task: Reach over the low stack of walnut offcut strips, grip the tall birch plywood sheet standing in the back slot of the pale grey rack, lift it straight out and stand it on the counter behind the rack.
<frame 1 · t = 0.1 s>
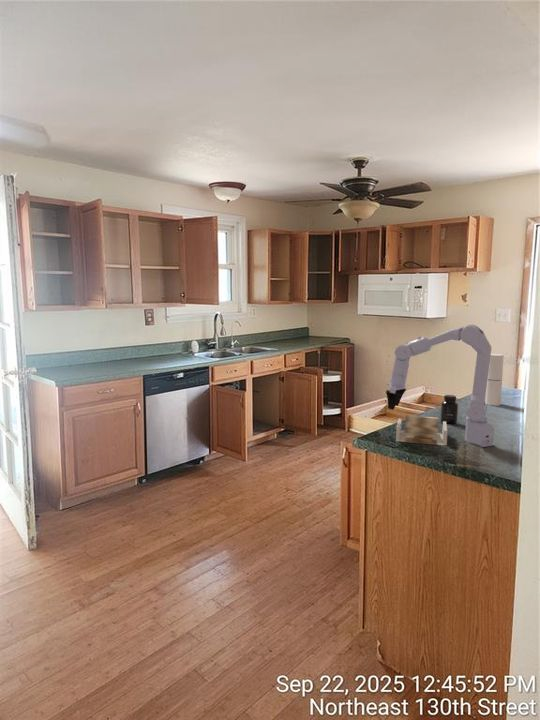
hand: (393, 406, 192), 10 cm above the counter, tool pointing down, fingers open, 7 cm apart
tall sheet: (421, 435, 186), point 1 cm above the counter, touching rack
cylindrical container: (492, 404, 240), on the counter
supplement bottle: (448, 423, 206), on the counter
rack: (421, 439, 184), on the counter
offcut stack: (421, 441, 179), point 1 cm above the counter, touching rack
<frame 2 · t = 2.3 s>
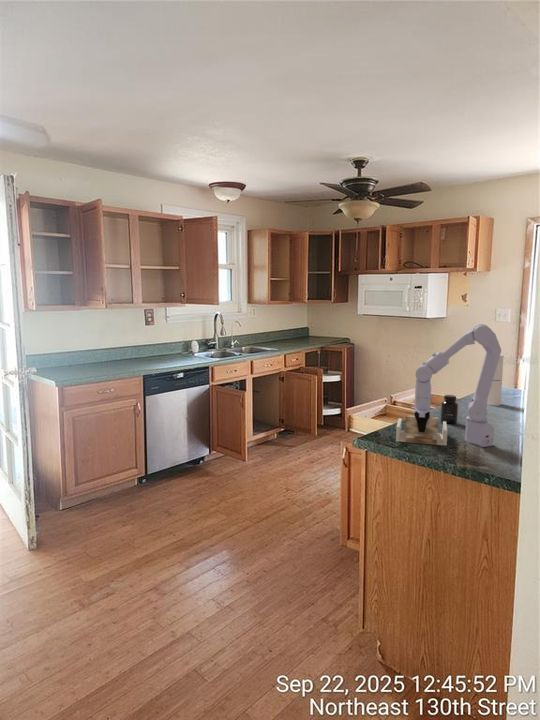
hand: (421, 431, 186), 3 cm above the counter, tool pointing down, fingers closed on tall sheet, 2 cm apart
tall sheet: (421, 435, 186), point 1 cm above the counter, touching gripper, rack
everything else where it was.
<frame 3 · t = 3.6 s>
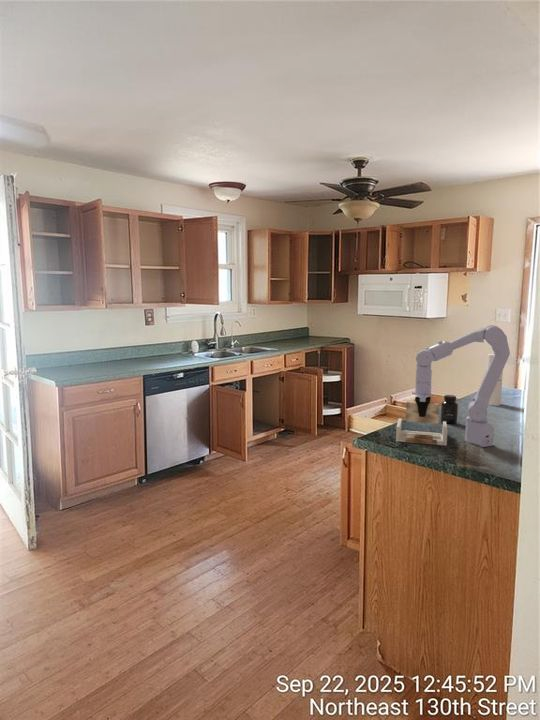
hand: (422, 416, 185), 9 cm above the counter, tool pointing down, fingers closed on tall sheet
tall sheet: (422, 422, 185), point 6 cm above the counter, touching gripper
everything else where it was.
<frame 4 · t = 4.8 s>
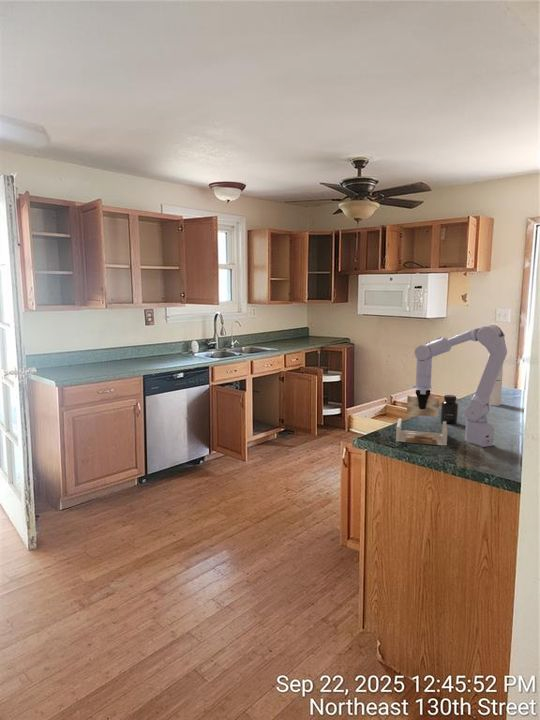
hand: (422, 408, 192), 10 cm above the counter, tool pointing down, fingers closed on tall sheet
tall sheet: (422, 415, 192), point 7 cm above the counter, touching gripper
everything else where it was.
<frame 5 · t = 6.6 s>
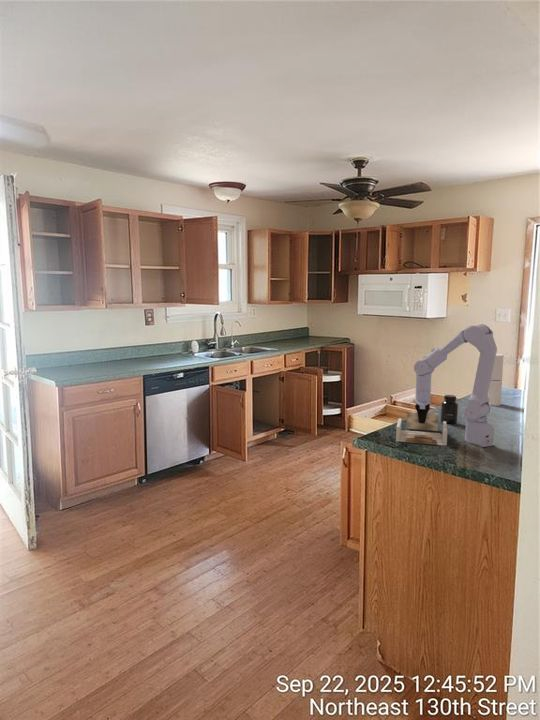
hand: (421, 422, 195), 4 cm above the counter, tool pointing down, fingers closed on tall sheet, 2 cm apart
tall sheet: (421, 430, 195), on the counter, touching gripper
everything else where it was.
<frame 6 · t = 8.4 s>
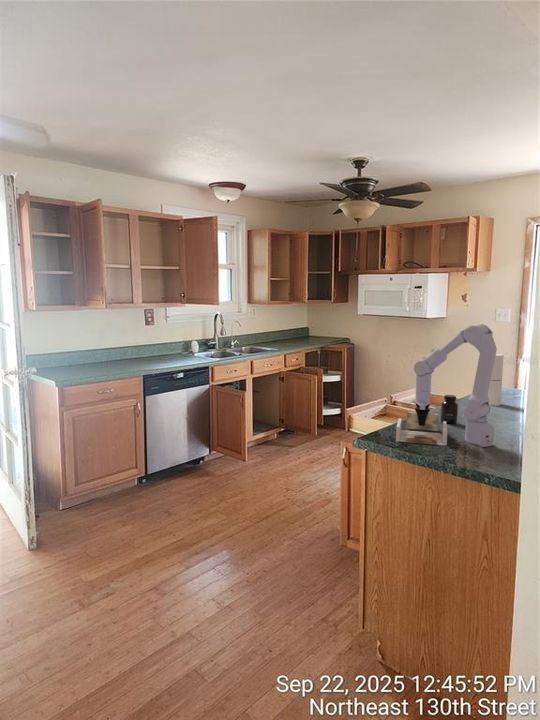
hand: (421, 422, 195), 3 cm above the counter, tool pointing down, fingers open, 7 cm apart
tall sheet: (421, 431, 195), on the counter
everything else where it was.
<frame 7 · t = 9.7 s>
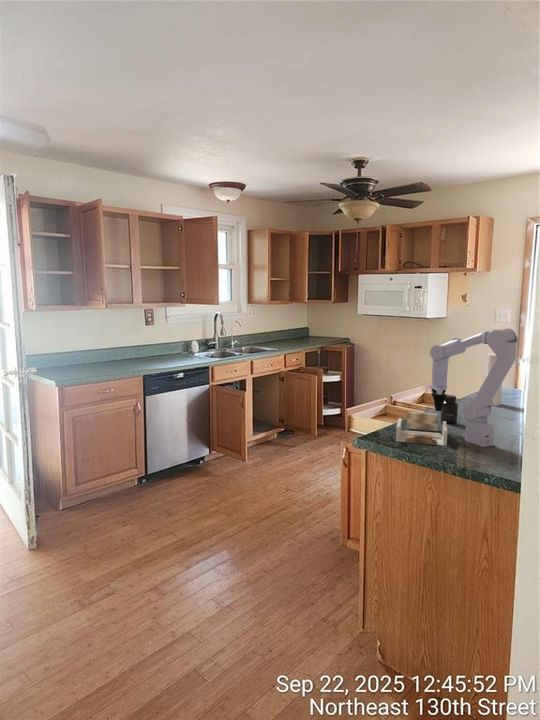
hand: (438, 408, 191), 10 cm above the counter, tool pointing down, fingers open, 7 cm apart
nothing on the counter moved.
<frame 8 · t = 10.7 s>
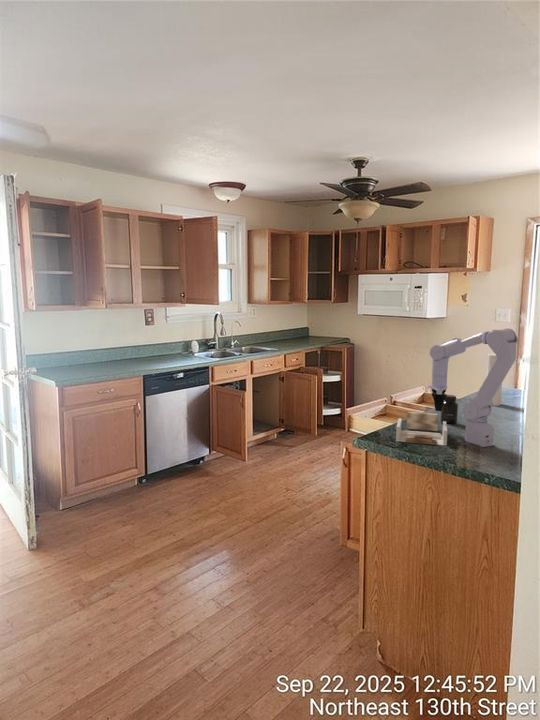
hand: (438, 408, 191), 10 cm above the counter, tool pointing down, fingers open, 7 cm apart
nothing on the counter moved.
at the end: tall sheet 0.2 cm from the target spot, on the counter; tall sheet tilted 0°; offcut stack moved 0.0 cm from its start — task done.
